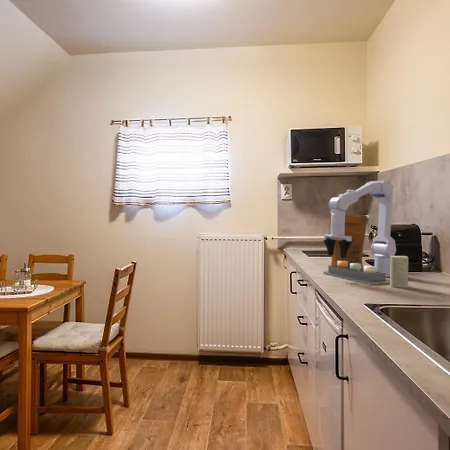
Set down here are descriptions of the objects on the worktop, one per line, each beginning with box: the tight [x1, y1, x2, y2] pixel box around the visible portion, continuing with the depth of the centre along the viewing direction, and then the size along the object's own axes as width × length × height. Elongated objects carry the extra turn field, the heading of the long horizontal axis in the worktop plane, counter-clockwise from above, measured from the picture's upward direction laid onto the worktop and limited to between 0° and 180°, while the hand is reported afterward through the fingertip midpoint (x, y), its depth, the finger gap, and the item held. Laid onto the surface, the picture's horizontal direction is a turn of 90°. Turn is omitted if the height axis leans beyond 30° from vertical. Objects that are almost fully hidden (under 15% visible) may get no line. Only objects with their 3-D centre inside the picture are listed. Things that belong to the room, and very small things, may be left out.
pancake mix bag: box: [328, 214, 368, 269], centre depth 196 cm, size 7×19×28 cm, turn 67°
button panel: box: [323, 265, 390, 286], centre depth 163 cm, size 12×28×4 cm, turn 26°
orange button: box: [337, 261, 348, 268], centre depth 170 cm, size 5×5×3 cm
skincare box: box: [389, 255, 409, 289], centre depth 146 cm, size 6×4×12 cm
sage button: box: [350, 263, 361, 271], centre depth 163 cm, size 5×5×3 cm
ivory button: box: [363, 265, 376, 274], centre depth 156 cm, size 5×5×3 cm
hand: (336, 256), depth 158 cm, fingers open, 7 cm apart
